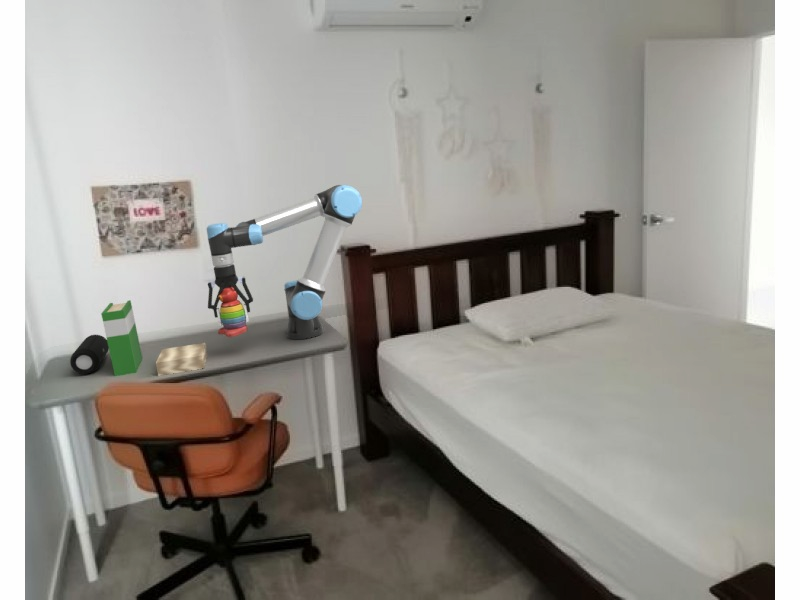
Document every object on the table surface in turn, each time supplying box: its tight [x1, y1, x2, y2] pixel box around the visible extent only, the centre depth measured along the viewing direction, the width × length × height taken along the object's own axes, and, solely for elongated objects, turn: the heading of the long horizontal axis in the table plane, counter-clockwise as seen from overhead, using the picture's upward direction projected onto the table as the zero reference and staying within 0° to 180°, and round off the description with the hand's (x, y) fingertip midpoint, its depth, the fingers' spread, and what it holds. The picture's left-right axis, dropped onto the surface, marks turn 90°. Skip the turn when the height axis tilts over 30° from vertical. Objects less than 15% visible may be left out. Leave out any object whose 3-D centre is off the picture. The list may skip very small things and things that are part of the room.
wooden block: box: [155, 342, 208, 377], centre depth 225 cm, size 16×17×5 cm
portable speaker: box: [69, 334, 109, 375], centre depth 235 cm, size 26×10×10 cm, turn 16°
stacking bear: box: [217, 287, 248, 338], centre depth 227 cm, size 11×10×18 cm
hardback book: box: [100, 300, 143, 377], centre depth 227 cm, size 18×7×24 cm, turn 16°
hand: (234, 322), depth 228 cm, fingers closed on stacking bear, 9 cm apart
